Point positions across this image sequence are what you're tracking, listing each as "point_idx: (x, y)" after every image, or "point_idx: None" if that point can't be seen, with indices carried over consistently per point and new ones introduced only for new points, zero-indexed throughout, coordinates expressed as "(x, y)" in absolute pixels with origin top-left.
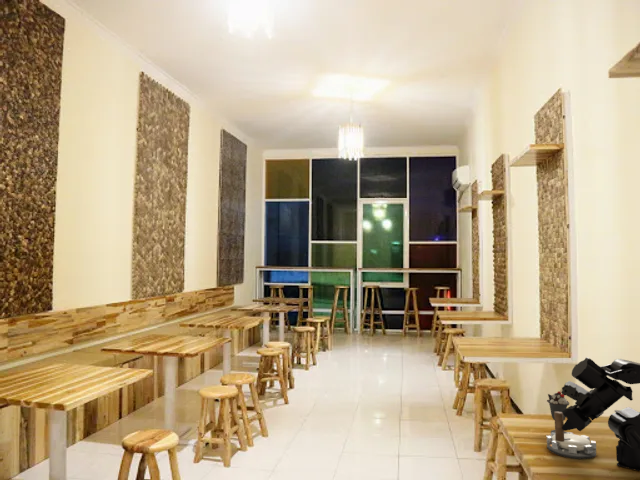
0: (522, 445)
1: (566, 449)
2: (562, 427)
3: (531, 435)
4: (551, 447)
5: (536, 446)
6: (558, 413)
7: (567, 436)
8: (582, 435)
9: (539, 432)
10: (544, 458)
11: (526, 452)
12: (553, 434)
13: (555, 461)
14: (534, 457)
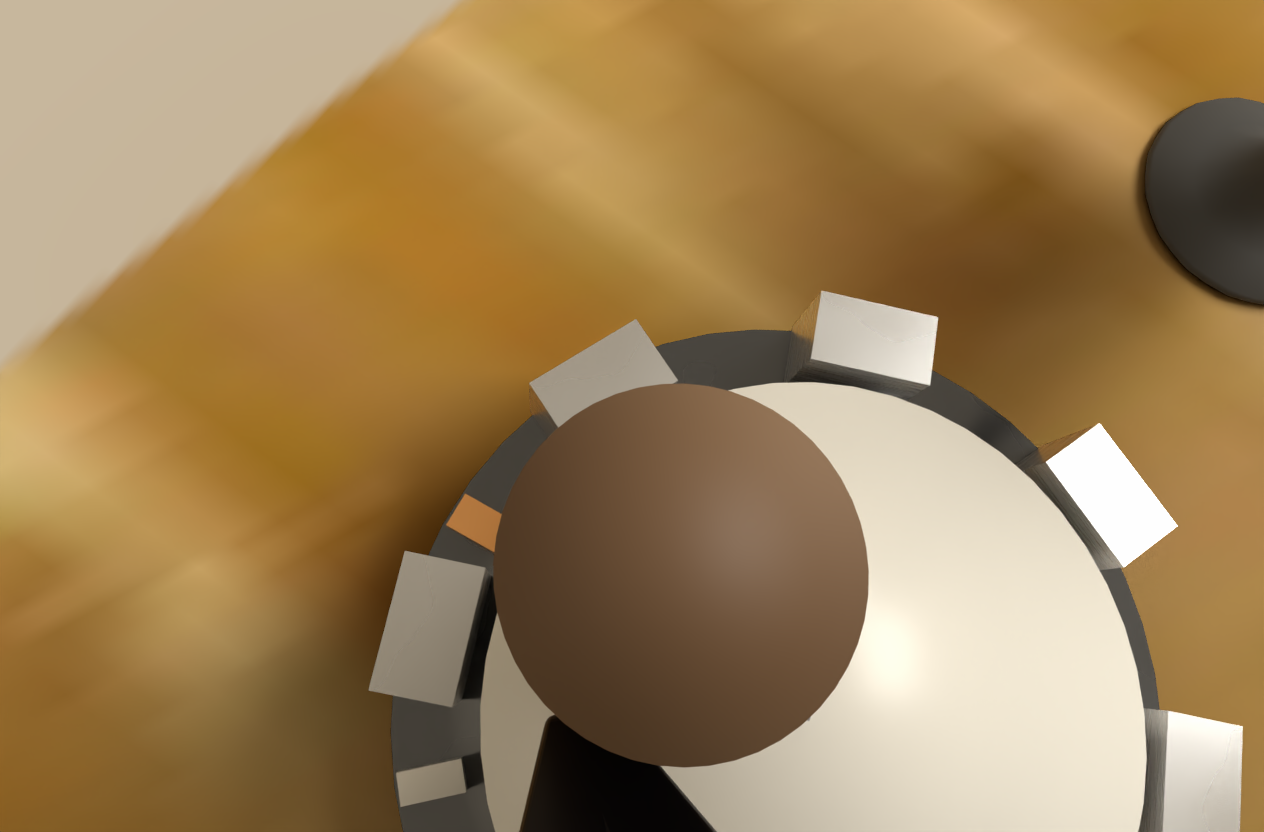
0: (356, 142)
1: None
2: (545, 747)
3: (830, 20)
4: (433, 546)
5: (487, 283)
6: (571, 620)
7: (905, 585)
8: (1200, 726)
9: (1029, 28)
10: (98, 630)
11: (126, 324)
12: (808, 355)
13: (110, 815)
14: (15, 511)
